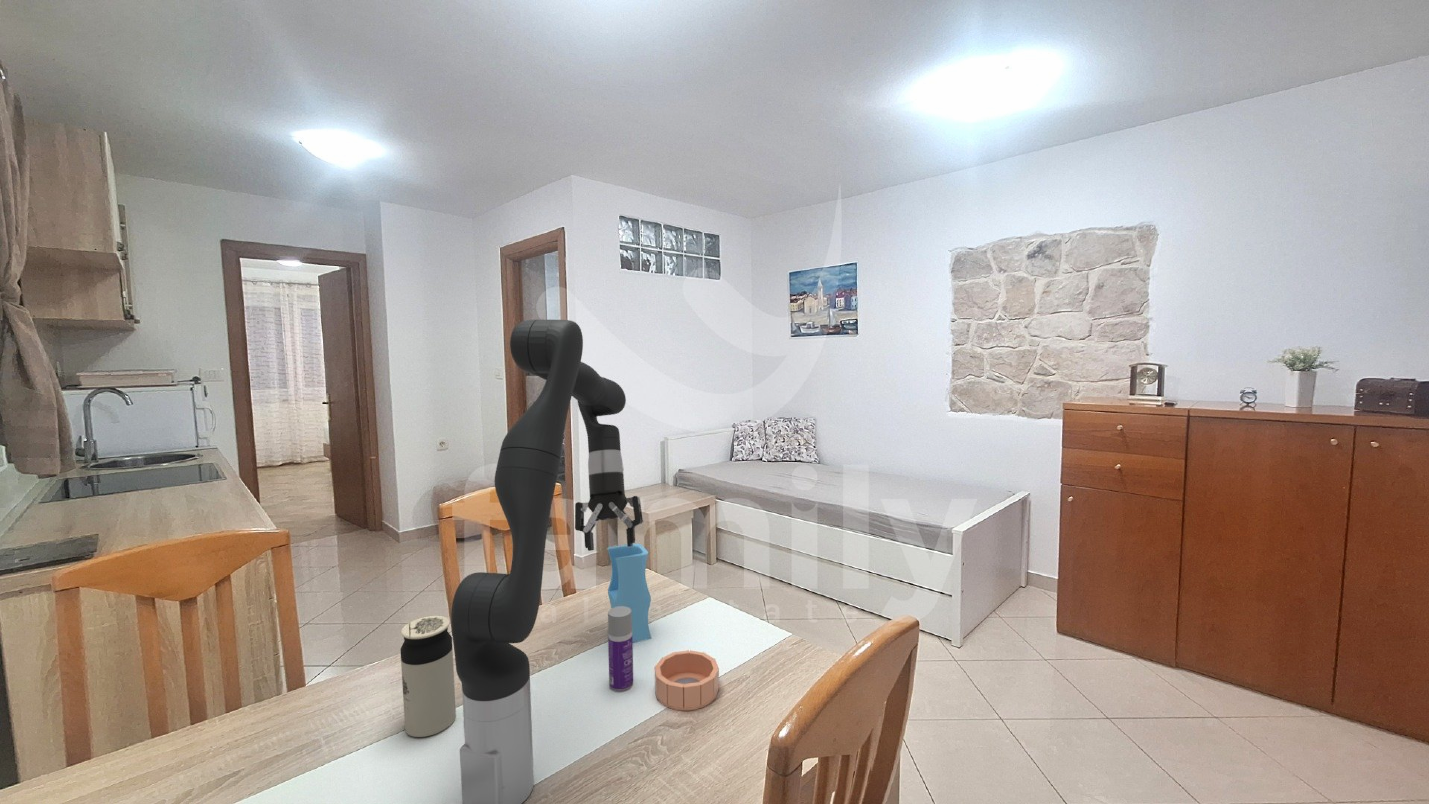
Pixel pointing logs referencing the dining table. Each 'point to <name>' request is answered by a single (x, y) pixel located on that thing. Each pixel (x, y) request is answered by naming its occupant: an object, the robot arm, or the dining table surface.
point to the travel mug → (427, 676)
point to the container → (620, 648)
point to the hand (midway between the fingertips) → (610, 548)
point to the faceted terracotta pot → (686, 680)
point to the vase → (631, 586)
